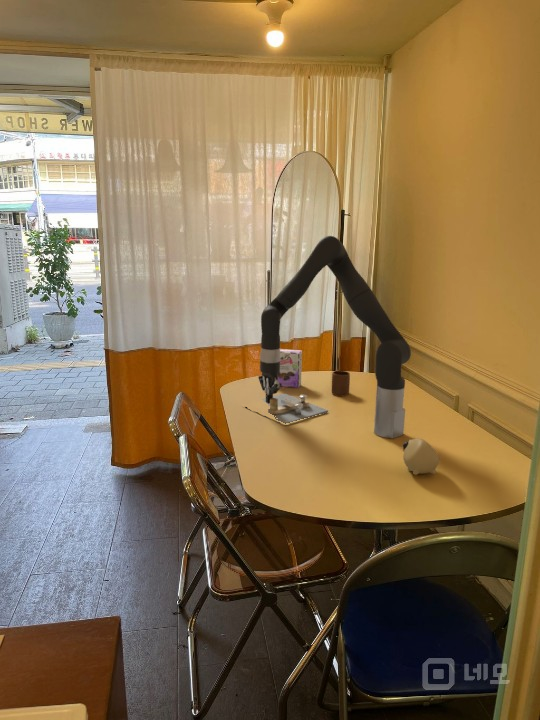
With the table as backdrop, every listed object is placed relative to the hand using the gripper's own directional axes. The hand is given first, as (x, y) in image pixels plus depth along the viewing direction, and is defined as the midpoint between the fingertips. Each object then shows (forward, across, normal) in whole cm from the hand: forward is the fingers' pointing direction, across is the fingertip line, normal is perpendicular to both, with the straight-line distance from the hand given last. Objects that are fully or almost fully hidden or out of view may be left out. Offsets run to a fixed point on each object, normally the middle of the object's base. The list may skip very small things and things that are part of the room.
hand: (269, 402), depth 193 cm
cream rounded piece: (+3, -64, -11) cm, 65 cm away
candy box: (+5, +26, -26) cm, 37 cm away
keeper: (+3, -5, -10) cm, 12 cm away
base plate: (+4, 0, -7) cm, 8 cm away
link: (+3, -4, -7) cm, 9 cm away
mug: (+4, +5, -40) cm, 41 cm away
